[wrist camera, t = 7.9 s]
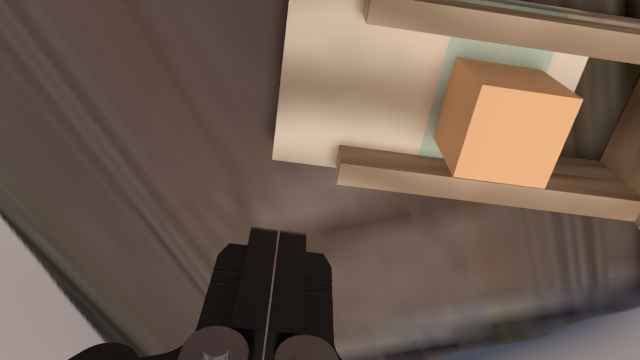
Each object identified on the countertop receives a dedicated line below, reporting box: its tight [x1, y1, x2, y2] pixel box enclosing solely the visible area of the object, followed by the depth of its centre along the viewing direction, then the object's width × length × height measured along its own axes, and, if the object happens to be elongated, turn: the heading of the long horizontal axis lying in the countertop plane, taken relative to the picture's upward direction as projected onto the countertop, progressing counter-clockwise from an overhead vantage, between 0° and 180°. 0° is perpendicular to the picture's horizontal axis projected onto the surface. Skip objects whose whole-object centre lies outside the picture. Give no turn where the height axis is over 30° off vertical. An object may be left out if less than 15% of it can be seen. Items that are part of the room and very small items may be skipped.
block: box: [433, 57, 583, 189], centre depth 26 cm, size 5×5×5 cm
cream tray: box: [272, 0, 640, 229], centre depth 28 cm, size 11×23×6 cm, turn 82°
